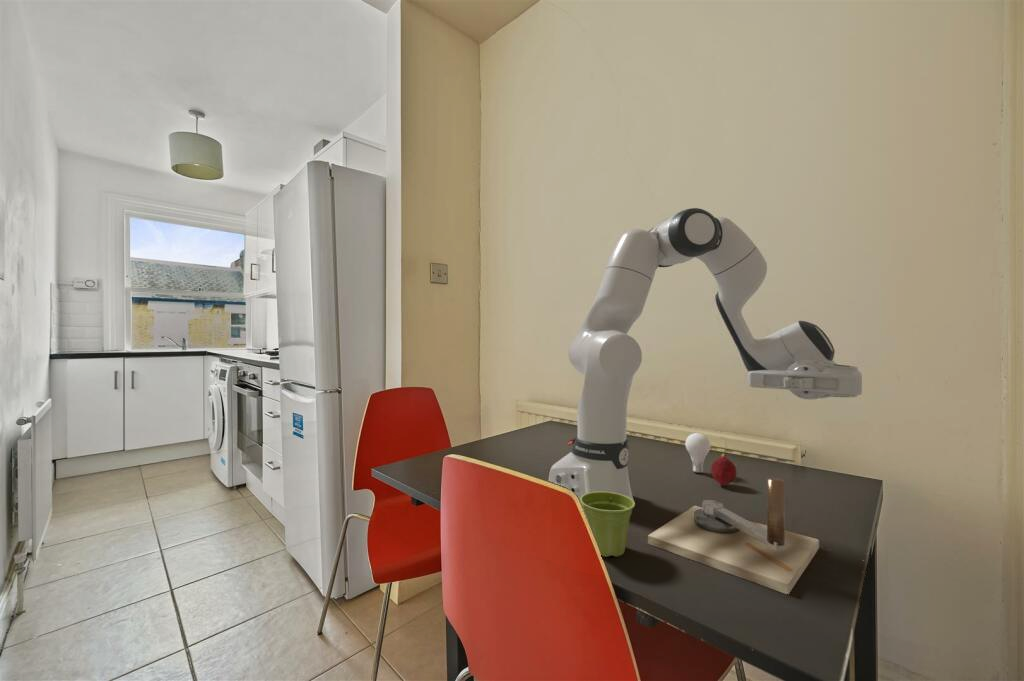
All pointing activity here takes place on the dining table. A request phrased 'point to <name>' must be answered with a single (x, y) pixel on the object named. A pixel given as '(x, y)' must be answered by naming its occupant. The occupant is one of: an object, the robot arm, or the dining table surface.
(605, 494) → the plant pot
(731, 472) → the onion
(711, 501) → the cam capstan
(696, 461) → the lightbulb
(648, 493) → the dining table surface
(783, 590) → the stand
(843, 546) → the dining table surface
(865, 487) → the dining table surface
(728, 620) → the dining table surface
